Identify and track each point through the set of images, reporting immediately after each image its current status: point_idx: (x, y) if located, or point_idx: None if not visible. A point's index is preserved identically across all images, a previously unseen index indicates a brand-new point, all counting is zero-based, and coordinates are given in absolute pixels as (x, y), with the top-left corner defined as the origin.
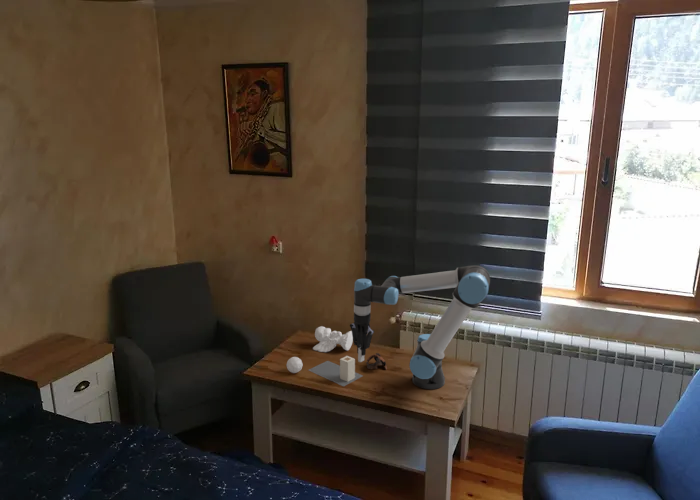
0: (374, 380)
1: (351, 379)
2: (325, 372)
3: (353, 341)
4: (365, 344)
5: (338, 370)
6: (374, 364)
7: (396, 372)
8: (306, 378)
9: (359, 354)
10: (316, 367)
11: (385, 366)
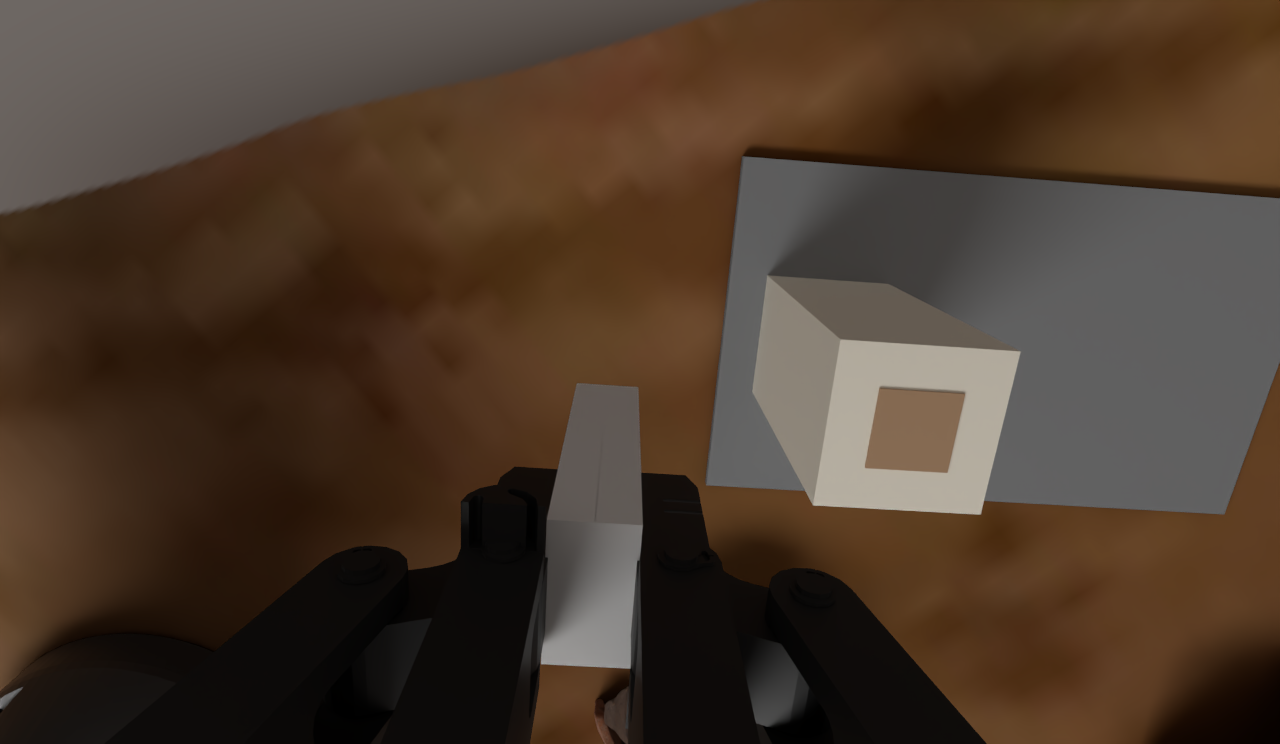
0: None
1: (760, 339)
2: (1111, 288)
3: (893, 643)
4: (284, 661)
5: None
6: None
7: None
8: (1254, 36)
9: (599, 446)
10: (1267, 318)
11: (602, 729)
